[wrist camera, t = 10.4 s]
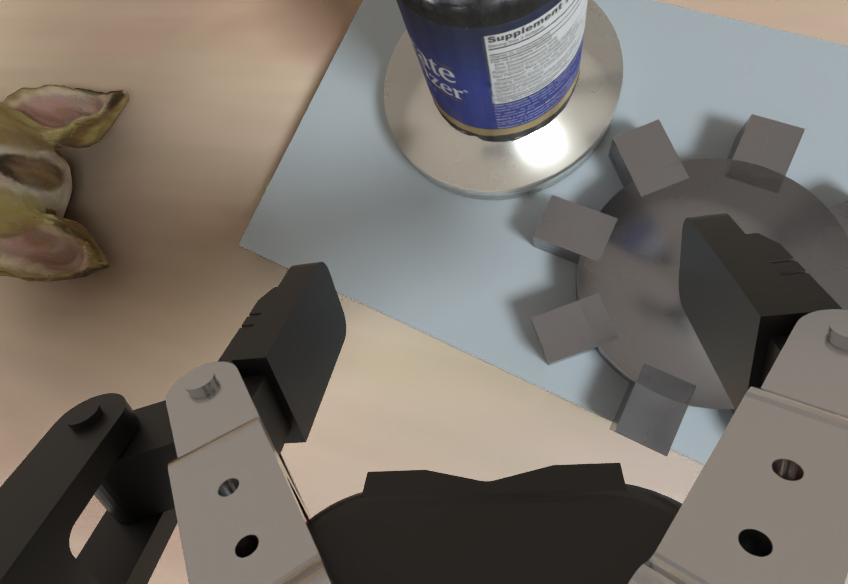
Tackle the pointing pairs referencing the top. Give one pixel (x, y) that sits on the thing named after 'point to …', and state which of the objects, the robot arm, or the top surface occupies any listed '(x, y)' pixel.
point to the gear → (675, 263)
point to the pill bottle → (498, 61)
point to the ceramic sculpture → (48, 180)
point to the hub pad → (513, 160)
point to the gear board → (518, 218)
